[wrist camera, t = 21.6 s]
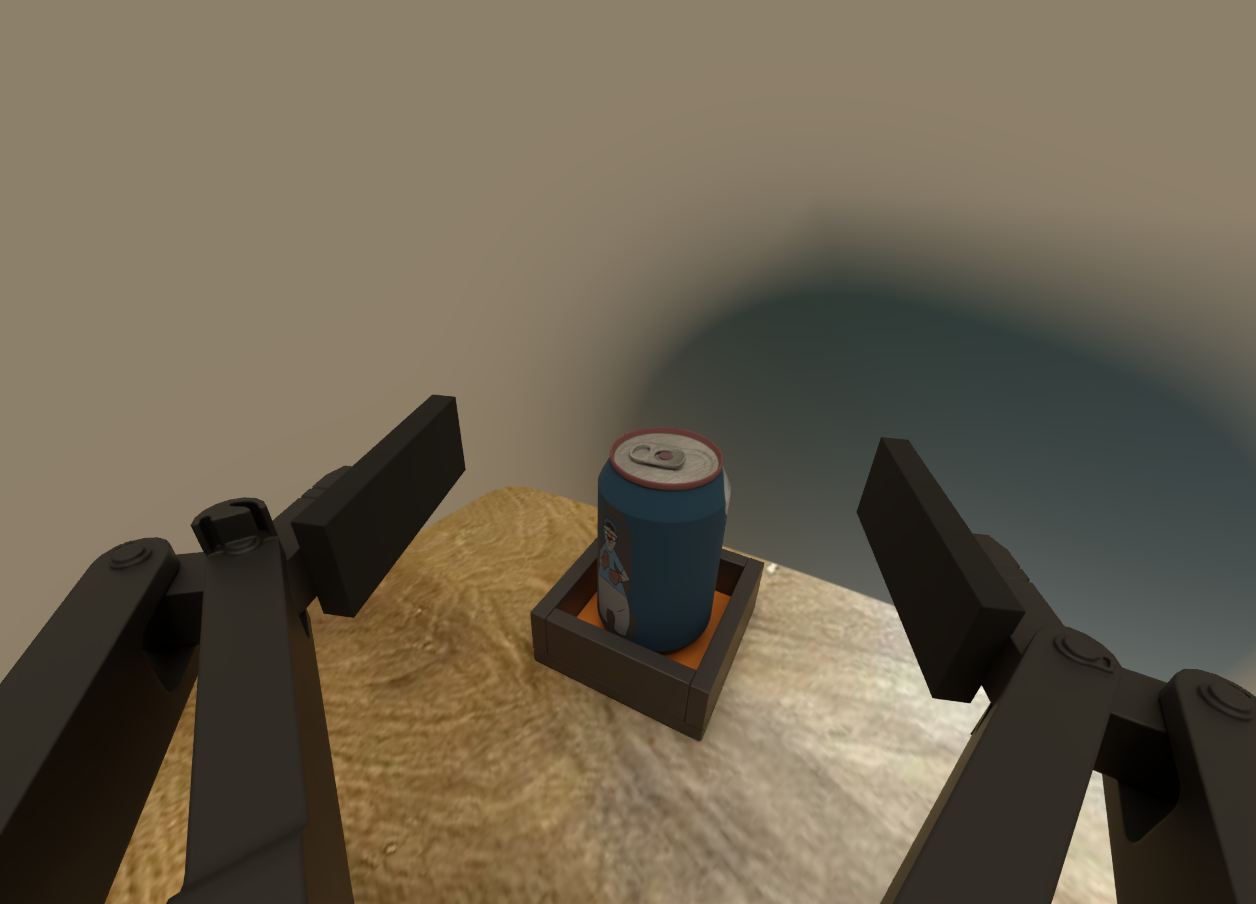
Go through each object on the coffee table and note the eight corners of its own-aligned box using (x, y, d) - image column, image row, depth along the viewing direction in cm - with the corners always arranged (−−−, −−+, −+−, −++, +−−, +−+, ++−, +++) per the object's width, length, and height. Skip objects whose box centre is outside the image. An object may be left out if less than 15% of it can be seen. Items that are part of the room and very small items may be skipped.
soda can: (718, 594, 34) (744, 434, 28) (695, 682, 29) (722, 505, 23) (619, 568, 36) (624, 412, 30) (579, 646, 30) (575, 473, 24)
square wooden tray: (534, 659, 31) (529, 612, 29) (617, 555, 39) (618, 512, 37) (700, 742, 27) (709, 694, 25) (754, 607, 35) (764, 562, 33)
